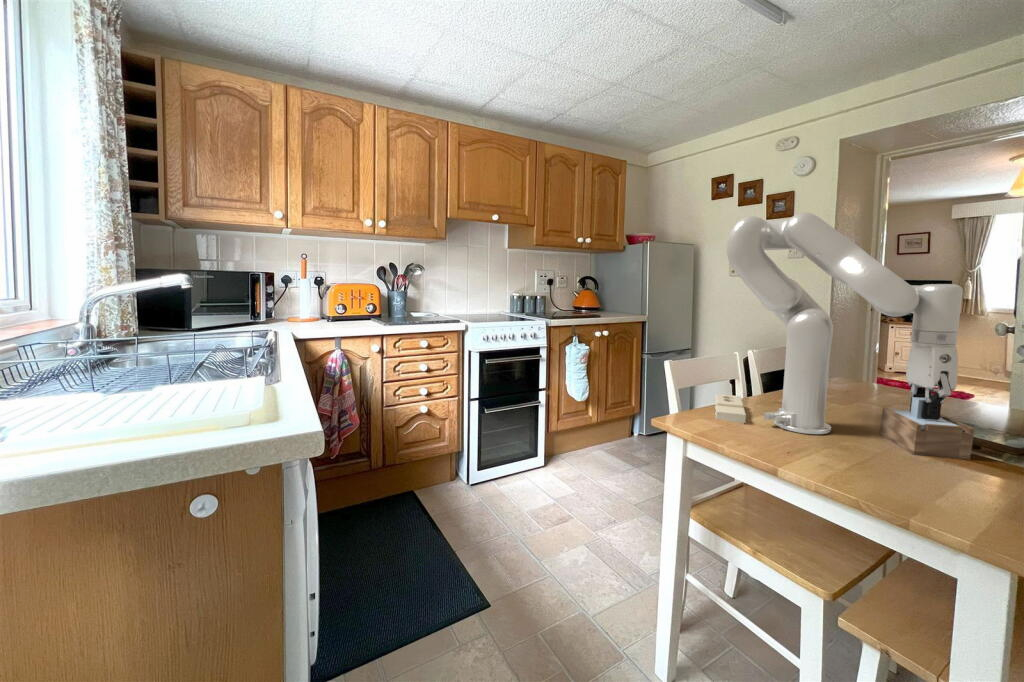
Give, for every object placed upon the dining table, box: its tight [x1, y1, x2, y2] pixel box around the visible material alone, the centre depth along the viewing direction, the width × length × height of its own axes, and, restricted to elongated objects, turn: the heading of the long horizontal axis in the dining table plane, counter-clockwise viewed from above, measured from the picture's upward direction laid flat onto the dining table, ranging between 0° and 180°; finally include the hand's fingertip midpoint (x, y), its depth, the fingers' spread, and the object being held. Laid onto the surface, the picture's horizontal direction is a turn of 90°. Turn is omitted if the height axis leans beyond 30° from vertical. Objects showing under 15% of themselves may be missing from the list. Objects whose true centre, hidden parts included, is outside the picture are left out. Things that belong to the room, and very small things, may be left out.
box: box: [879, 406, 975, 460], centre depth 100 cm, size 14×10×7 cm
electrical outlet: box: [714, 393, 747, 424], centre depth 126 cm, size 7×4×18 cm
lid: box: [891, 396, 958, 430], centre depth 100 cm, size 12×7×6 cm, turn 164°
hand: (924, 415), depth 100 cm, fingers open, 3 cm apart
